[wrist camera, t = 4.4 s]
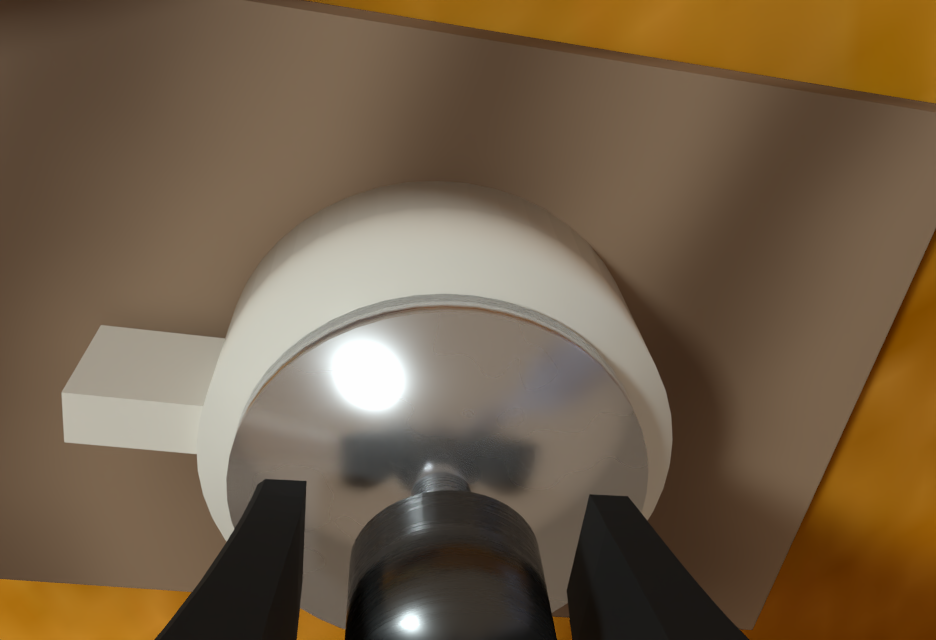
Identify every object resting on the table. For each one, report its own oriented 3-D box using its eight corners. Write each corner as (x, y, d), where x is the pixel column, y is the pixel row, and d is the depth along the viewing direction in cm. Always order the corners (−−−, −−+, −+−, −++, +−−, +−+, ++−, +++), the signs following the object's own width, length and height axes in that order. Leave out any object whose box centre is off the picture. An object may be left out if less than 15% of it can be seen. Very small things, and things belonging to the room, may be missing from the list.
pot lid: (688, 321, 14) (798, 507, 10) (587, 628, 17) (640, 855, 13) (242, 267, 13) (179, 451, 9) (224, 604, 16) (171, 841, 12)
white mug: (679, 212, 16) (734, 287, 14) (580, 538, 20) (608, 645, 18) (102, 133, 15) (39, 199, 12) (111, 499, 19) (66, 611, 16)
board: (960, 107, 17) (984, 120, 16) (741, 605, 23) (752, 629, 22) (-212, -84, 14) (-244, -79, 13) (-100, 544, 20) (-117, 570, 19)
